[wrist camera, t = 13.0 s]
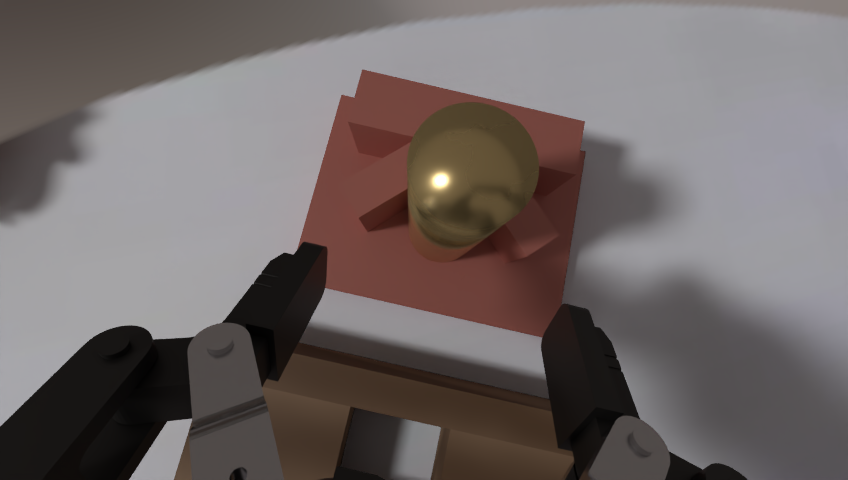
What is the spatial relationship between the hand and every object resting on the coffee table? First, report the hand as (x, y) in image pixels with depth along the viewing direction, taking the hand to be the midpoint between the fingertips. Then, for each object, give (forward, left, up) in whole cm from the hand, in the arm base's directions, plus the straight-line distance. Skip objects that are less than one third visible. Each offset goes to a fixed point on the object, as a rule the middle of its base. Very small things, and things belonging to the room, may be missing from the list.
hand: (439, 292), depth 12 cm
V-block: (-4, -2, -10) cm, 11 cm away
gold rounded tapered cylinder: (-4, -2, -9) cm, 10 cm away
